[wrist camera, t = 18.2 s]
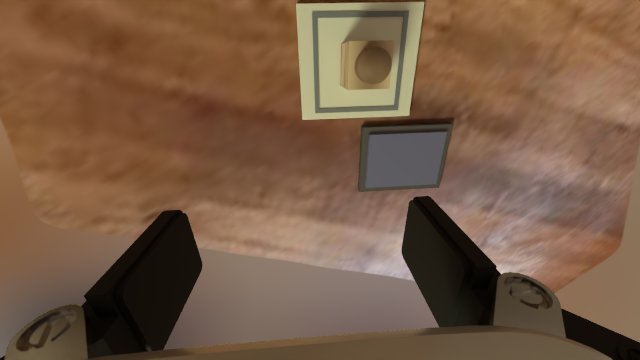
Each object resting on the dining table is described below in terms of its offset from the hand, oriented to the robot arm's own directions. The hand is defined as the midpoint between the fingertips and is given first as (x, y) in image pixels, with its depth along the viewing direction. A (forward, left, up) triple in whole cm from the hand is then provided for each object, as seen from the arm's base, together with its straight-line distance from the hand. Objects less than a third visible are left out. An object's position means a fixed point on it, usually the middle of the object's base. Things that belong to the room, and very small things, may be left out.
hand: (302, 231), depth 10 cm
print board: (-8, -6, -28) cm, 30 cm away
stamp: (-8, -6, -28) cm, 29 cm away
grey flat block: (-16, +8, -28) cm, 33 cm away
